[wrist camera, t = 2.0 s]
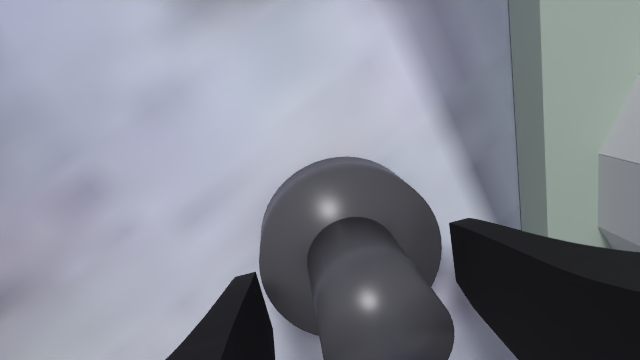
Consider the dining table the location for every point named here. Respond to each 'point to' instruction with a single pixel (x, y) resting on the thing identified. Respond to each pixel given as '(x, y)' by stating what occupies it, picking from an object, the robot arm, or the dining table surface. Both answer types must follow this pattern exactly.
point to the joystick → (356, 262)
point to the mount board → (578, 119)
